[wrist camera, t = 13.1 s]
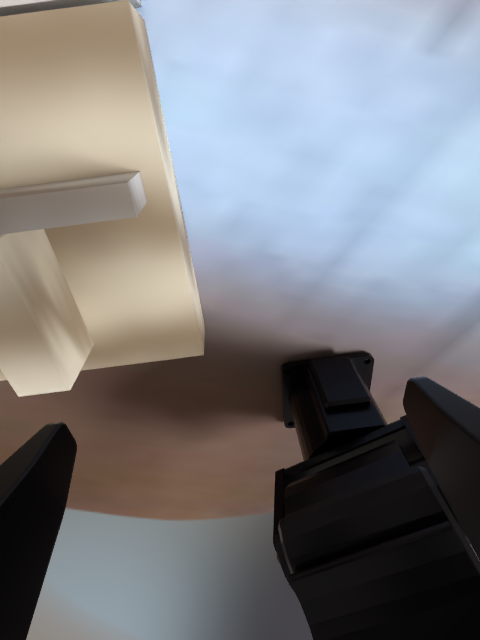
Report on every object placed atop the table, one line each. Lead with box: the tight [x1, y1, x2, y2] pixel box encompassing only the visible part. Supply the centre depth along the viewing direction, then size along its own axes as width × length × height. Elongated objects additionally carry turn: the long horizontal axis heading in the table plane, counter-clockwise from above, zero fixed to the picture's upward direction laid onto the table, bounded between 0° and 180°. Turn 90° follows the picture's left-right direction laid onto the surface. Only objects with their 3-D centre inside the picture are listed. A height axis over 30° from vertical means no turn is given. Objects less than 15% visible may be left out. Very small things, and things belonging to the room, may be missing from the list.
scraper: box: [0, 171, 148, 397], centre depth 14 cm, size 8×12×4 cm
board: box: [0, 0, 205, 381], centre depth 16 cm, size 15×14×3 cm
